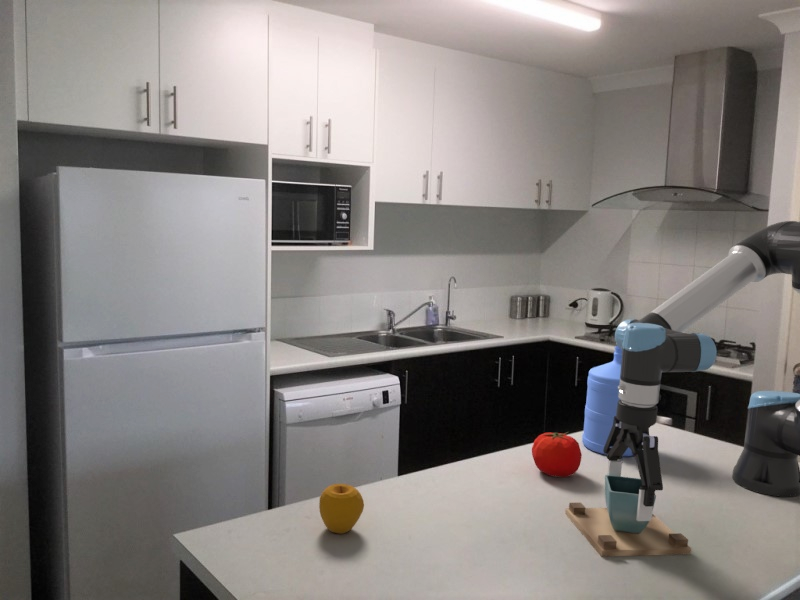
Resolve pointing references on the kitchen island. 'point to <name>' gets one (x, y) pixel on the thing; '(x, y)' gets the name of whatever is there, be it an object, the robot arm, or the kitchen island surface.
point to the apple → (340, 507)
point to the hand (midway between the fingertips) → (627, 505)
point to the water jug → (602, 404)
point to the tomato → (556, 454)
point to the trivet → (625, 535)
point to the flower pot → (623, 503)
